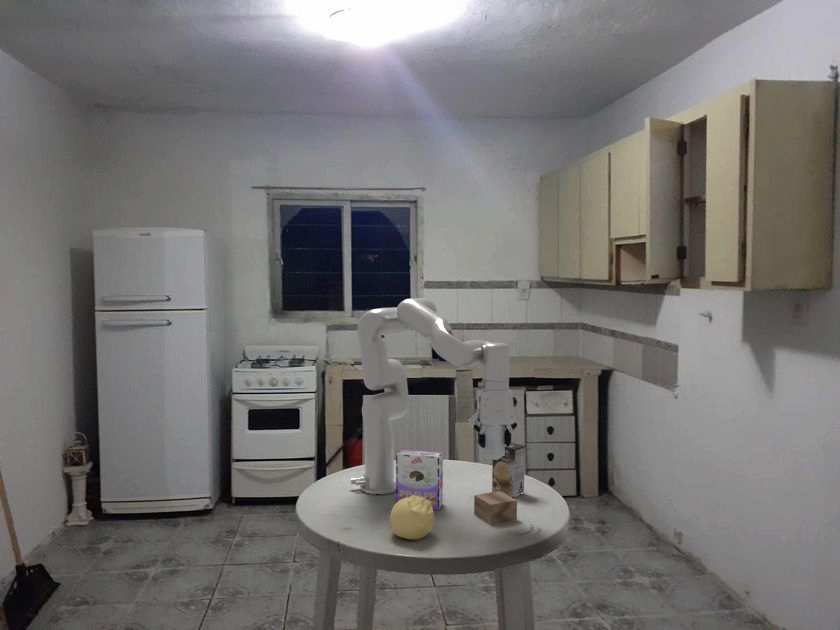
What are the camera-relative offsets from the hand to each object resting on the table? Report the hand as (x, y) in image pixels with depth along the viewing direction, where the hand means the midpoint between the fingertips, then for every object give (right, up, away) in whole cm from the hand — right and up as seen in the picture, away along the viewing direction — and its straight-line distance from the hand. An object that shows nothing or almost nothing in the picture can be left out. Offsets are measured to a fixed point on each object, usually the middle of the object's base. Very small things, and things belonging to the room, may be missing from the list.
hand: (494, 445), depth 190 cm
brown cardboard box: (0, -22, +2) cm, 22 cm away
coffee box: (+7, -20, +23) cm, 32 cm away
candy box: (-22, -21, +11) cm, 32 cm away
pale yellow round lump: (-24, -22, -12) cm, 35 cm away
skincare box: (0, -4, 0) cm, 4 cm away
